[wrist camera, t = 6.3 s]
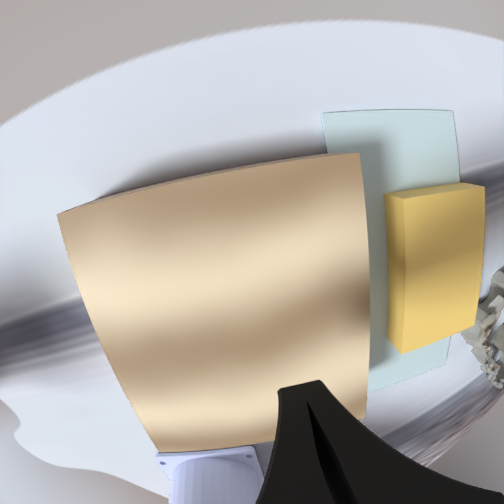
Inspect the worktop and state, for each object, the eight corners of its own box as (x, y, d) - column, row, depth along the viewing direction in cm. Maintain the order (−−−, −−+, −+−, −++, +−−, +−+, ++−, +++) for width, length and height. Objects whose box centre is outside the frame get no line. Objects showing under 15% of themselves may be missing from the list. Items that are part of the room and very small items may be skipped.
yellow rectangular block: (400, 354, 16) (386, 337, 18) (474, 325, 16) (457, 312, 18) (402, 198, 13) (383, 193, 15) (484, 186, 13) (463, 182, 15)
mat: (443, 362, 20) (445, 364, 19) (344, 397, 19) (345, 399, 19) (449, 111, 14) (452, 110, 14) (320, 114, 14) (322, 113, 14)
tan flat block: (344, 376, 19) (364, 417, 15) (167, 408, 19) (159, 452, 15) (327, 153, 15) (359, 152, 11) (94, 200, 14) (56, 214, 11)
